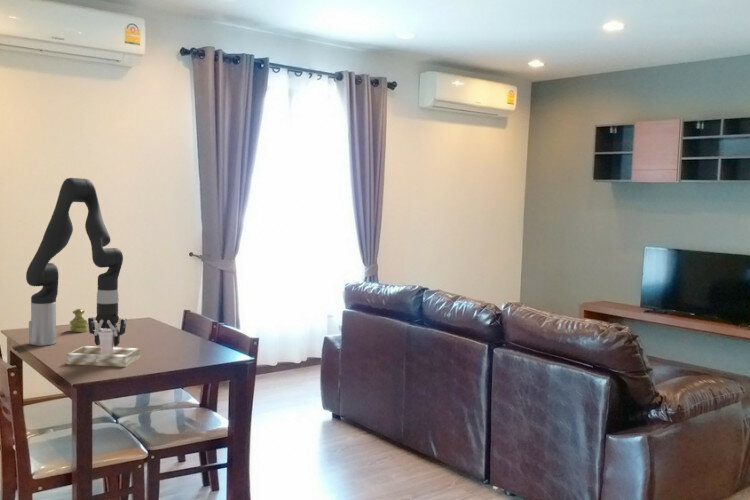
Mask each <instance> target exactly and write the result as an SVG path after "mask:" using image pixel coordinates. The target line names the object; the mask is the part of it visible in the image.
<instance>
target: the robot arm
mask: <svg viewBox="0 0 750 500" xmlns="http://www.w3.org/2000/svg"><path fill="white" fill-rule="evenodd" d="M96 190H97V189H96V187H95V185H94V182H93V181H92V180H90V179H88V178H78V177H67V178H65V179H64V180H63V182H62V184H61V186H60V190H59V193H58V197H57V200H56V203H55V207H54V210H53V211H52V215H51V218H50V220H49V221H48V224H47V227H46V229H45V232H44V234H43V237H42V239H41V242H40V243H39V246H38V249H37V251H36V253H35V254H34V256H33V258H32V259H31V261H30V263H29V265H28V267H27V270H26V273H25V278H26V279H25V280H26V282H27V284H28V285H29V286H31V287H42V288H41V289H40V290H39V291H38V292H36V293H33V294H32V295H31V297H30V320H29V321H28V345H32V346H39V347H41V346H50V345H51V346H52V345H55V344H56V343H57V297H58V293H59V291H58V290H59V269H58V266H57V265H56V264H55V263H53V262H50V261H51V260H52V259H53V258H54V257H55V256H56V255H57V254H60V252H62V251H63V249H64V248H65V247H66V246H67V245H68V243H69V241H70V239H71V237H72V234H73V231H74V228H73V223H72V220H71V217H70V210H71V209H70V208H71V206H72V204H73V203H84V204H85V206H86V208H87V216H86V219H85V224H84V225H85V227H84V228H85V232H86V235H87V237H88V238H89V241H90V245H91V247H90V248H91V256H92V263H93V264H94V265H95V266H96V267H97V268H100V269H101V268H107V271H105V272H103V273H100V274H98V276H97V293H96V316H95V317H94V316H91V317H88V319H87V324H88V333H89V334H90V335H91V334H92V335H93V336H94V344H95V346H100V340H99V334H98V331H100V330H104V329H106V328H108V329H111V330H112V331H113V333H114V335H115V336H114V346H113V347H117V346H119V344H120V343H121V341H120V339H121V338H120V336H122V335H124V334H125V333H126V328H127V318H125V317H124V318H120V317H119V291H118V290H119V289H118V288H119V286H118V284H119V283H118V282H119V281H118V280H119V276H120V272H121V269H122V266H123V262H124V256H123V252H122V250H121V249H119V248H116V247H110V248H109V247H106V246H108V245H109V244H110V243H111V236H110V234H109V232H108V230H107V227H106V225H105V222H104V220H103V216H102V213H101V212H102V211H101V207H100V203H99V198H98V194H97V191H96ZM104 247H106V248H104ZM96 322H97V326H96V324H95V323H96ZM118 323H119V324H120V326H119V327H118Z"/></svg>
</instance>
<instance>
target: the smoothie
mask: <svg viewBox="0 0 750 500" xmlns="http://www.w3.org/2000/svg"><path fill="white" fill-rule="evenodd" d="M98 334H99V340H100V345H99V347H100V348H101V354H112V353H113V347H115V346H114V336H115V335H114V333H113V331H112V330H111V329H108V328H104V329H102V330H100V331H98Z"/></svg>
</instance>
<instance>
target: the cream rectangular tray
mask: <svg viewBox="0 0 750 500" xmlns="http://www.w3.org/2000/svg"><path fill="white" fill-rule="evenodd" d="M140 358H141V348H137V347H136V348H135V347H120V346H119V347H117V346H113V353H112V354H101V348H100V346H99V345H95V346H92V345H82V346H81V347H79V348H76V349H74V350H73V351H70V352H68V353H66V356H65V359H66V360H65V361H66V363H65V364H66V365H78V366H98V367H99V366H101V367H102V366H103V367H118V368H119V367H121V368H123V367H124V368H126V367H128V366H129V365H131V364H133V363H134V362H136V361H137V360H139V359H140Z"/></svg>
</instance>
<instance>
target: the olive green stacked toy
mask: <svg viewBox="0 0 750 500" xmlns="http://www.w3.org/2000/svg"><path fill="white" fill-rule="evenodd" d="M85 312H86V311H85V310H84V309H81V308H76V309H75V310H73V311H72V314H73V315H74V317H73V319H72V320H70V321H69V332H70V333H85V332H87V331H88V325H87V324H88V319H87V320H86V319H85V318H84V317H83V314H85Z"/></svg>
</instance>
